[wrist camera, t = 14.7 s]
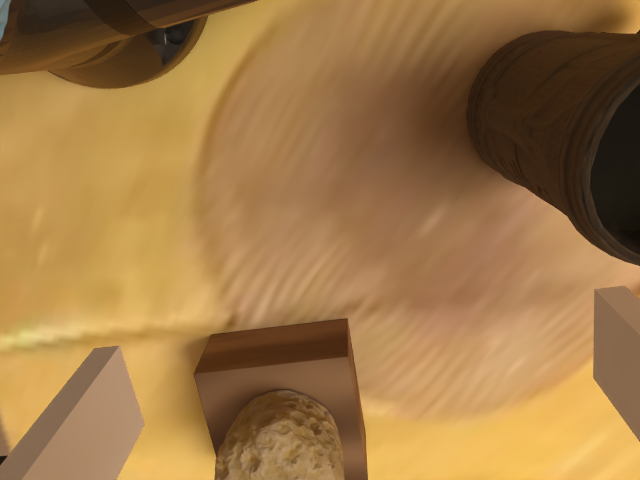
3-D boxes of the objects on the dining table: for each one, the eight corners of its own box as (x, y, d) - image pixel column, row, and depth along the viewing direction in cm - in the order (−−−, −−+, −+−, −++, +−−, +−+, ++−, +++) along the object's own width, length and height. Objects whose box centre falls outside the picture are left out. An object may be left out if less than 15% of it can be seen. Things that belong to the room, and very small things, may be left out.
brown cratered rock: (272, 493, 46) (258, 576, 39) (205, 416, 44) (179, 489, 37) (365, 447, 44) (369, 526, 37) (302, 363, 42) (293, 430, 35)
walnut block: (211, 334, 48) (193, 374, 43) (347, 318, 47) (347, 356, 42) (239, 445, 52) (226, 494, 47) (365, 432, 51) (367, 481, 46)
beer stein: (539, 214, 43) (712, 328, 24) (430, 137, 41) (524, 193, 22) (680, 41, 39) (1018, 14, 20) (567, -52, 38) (820, -178, 19)
